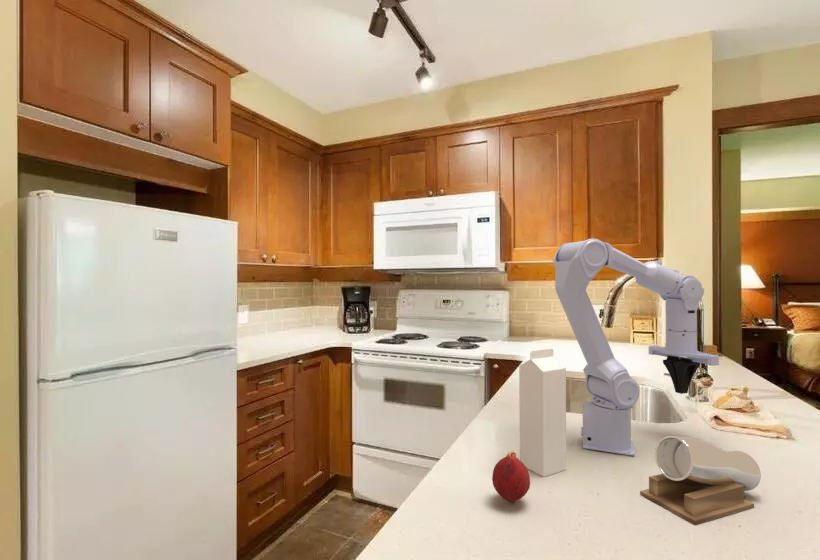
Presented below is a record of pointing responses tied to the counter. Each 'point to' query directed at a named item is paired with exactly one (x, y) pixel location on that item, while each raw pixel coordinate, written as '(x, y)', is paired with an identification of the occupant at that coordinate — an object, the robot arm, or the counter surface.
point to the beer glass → (705, 463)
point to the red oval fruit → (511, 478)
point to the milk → (543, 413)
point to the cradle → (696, 499)
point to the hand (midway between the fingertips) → (681, 392)
